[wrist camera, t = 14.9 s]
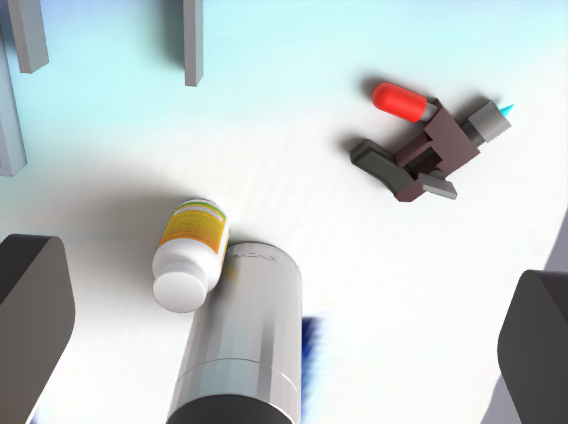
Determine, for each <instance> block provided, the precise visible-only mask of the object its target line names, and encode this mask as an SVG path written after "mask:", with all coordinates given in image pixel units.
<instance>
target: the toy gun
mask: <svg viewBox="0 0 568 424" xmlns="http://www.w3.org/2000/svg"><path fill="white" fill-rule="evenodd" d="M372 101H373V104H374V105H375V107H376V108H378V109H380V110H382V111H385V112H388V113H390V114H393V115H395V116H398V117H400V118H403V119H406V120H408V121H411V122H413V123H415V122H417V121H418V120H419V121H420V123H421V125H422V127H423V129H424V130H425V131H426V132H423V133H421V134H420V135H419V136H417V137H416V138H415V139H414V140H412V141H411V142H410V143H408V144H407V145H406V146H404V147H403V148H402V149H401V150H399V151H398V152H397V153H395V155H394V154H392V153H390V152H389V151H387V150H385V149H384V148H382V147H381V146H379V145H377V144H376V143H374V142H372V141H371V140H365V141H363V142H362V143H361V144H359V145H358V146H357V147H356V148H354V149H353V150H352V151H351V152H350V159H351V163H352V164H354V165H355V166H357V167H359V168H360V169H362V170H364V171H365V172H367V173H369V174H370V175H372V176H374V177H375V178H377V179H379V180H381V182H382V183H383V184H384V185H385V186H386V187H387V188H388V189H389V190H390V191H391V192H392V193H393V194H394V197H395V198H396V199H397V200H398V201H399V202H412V201H413V200H415V199H416V198H418V197H419V196H420V195H422V194H423V193H425V192H426V191H429V192H430V193H434V194H437V195H440V196H444V197H447V198H450V199H453V200H455V199H456V197H457V195H458V194H457V192H456V190H455V188H454V187H453V185H452V183H451V182H449V181H446V180H445V177H447V176H448V175H450V174H451V173H452V172H454V171H455V170H457V169H459V168H460V167H461V166H463V165H464V164H466V163H467V162H468V161H470V160H471V159H473V158H474V157H475V156H477V155H478V154H480V151H479V150H478V148H477V147H478V146H480V145H481V144H483V143H484V142H485V141H486V142H487V143H489V142H490V141H491V140H493V139H494V138H496V137H497V136H498V135H500V134H501V133H502V132H504V131H505V130H507V129H508V128H509V127H511V125H510V123H509V122H508V121H507V119H506V118H505V116H506V115H507V114H508V112H509V111H510V110H511V108H512V107H513V106H514V105H511V106H508V107H505V108H503V109H500V110H499V109H498V108H497V107H496V106H495V104H494V103H493V102H492V101H490V102H489V103H487V104H486V105H485V106H483V107H482V108H481V109H479V110H478V111H477V112H475V113H474V114H473V115H471V116H470V117H469V118H468V119H469V121H468V122H466V123H465V124H464V125H462V126H461V127H460V125H459V124H458V123H457V122H456V120H455V119H454V118H453V117H452V116H451V114H450V113H449V112H448V111H447V109H446V108H445V107H444V106H443V105H442V103H441V102H440V101H439V100H438V99H437V100H436V101H435V102H434V103H433V104H430V103H427V99H426V98H425V97H424V96H421V95H419V94H416V93H414V92H411V91H409V90H406V89H404V88H401V87H399V86H396V85H394V84H391V83H381V84H379V85H378V86H377V87H376V88H375V89H374V91H373V94H372ZM430 146H431V147H432V148H433V149H434V150H435V152H434V153H433V154H432V155H430V156H429V157H428V158H426V159H425V160H424V161H422V162H421V163H420V164H418V165H417V166H416V167H414V168H413V169H412V170H410V169H409V168H408V167H407V166H406V164H408V163H409V162H410V161H412V160H413V159H414V158H416V157H417V156H418V155H420V154H421V153H422V152H424V151H425V150H426V149H428V148H429V147H430Z"/></svg>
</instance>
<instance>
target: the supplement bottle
mask: <svg viewBox="0 0 568 424" xmlns="http://www.w3.org/2000/svg"><path fill="white" fill-rule="evenodd" d="M229 234H230V223H229V219H228V217H227V215H226V214H225V212H224V211H223V210H222V209H221V208H220V207H218V206H217V205H216V204H214V203H212V202H209V201H206V200H199V199H197V200H189V201H186V202H184V203H182V204H180V205H179V206H178V207H177V208H176V209H175V210H174V211H173V213H172V215H171V217H170V219H169V222H168V224H167V227H166V229H165V232H164V234H163V236H162V239H161V241H160V244H159V246H158V248H157V251H156V253H155V256H154V259H153V262H152V271H153V275H154V278H155V280H154V283H153V287H152V291H153V295H154V298H155V299H156V301H157V302H158V303H159V304H160V305H161V306H162V307H164V308H165V309H167V310H169V311H172V312H176V313H188V312H192V311H194V310H196V309H198V308H199V307H200V306H201V305H202V304H203V302H204V301H205V298H206V294H207V293H208V292H210V291H211V290H212V289H213V288H214V287H215V285H216V284H217V282H218V280H219V277H220V274H221V270H222V265H223V261H224V256H225V252H226V248H227V243H228V239H229Z"/></svg>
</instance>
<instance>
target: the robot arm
mask: <svg viewBox="0 0 568 424" xmlns="http://www.w3.org/2000/svg"><path fill="white" fill-rule="evenodd" d="M74 321H75V303H74V297H73V292H72V287H71V281H70V276H69V271H68V265H67V260H66V255H65V249H64V245H63V243H62V241H61V239H60V238H59V237H55V236H40V235H26V234H11V235H9V236H8V237H6V238H5V240H4V241H3V242H2V243H1V244H0V424H25V423H26V421H27V419H28V417H29V416H30V414H31V412H32V410H33V408H34V406H35V404H36V402H37V400H38V399H39V397H40V395H41V393H42V391H43V389H44V387H45V385H46V383H47V381H48V380H49V378H50V376H51V374H52V372H53V370H54V368H55V366H56V364H57V363H58V361H59V359H60V357H61V355H62V353H63V351H64V349H65V347H66V345H67V344H68V342H69V339H70V337H71V334H72V331H73V327H74ZM301 326H302V279H301V274H300V271H299V269H298V267H297V265H296V264H295V263H294V261H293V260H292V259H291V258H290V257H289V256H288V255H287V254H285V253H284V252H282V251H280V250H279V249H277V248H275V247H272V246H269V245H266V244H261V243H241V244H236V245H233V246H230V247H228V248H226V252H225V256H224V261H223V265H222V270H221V274H220V277H219V280H218V282H217V284H216V285H215V287H214V288H213V289H212V290H211V291H210V292H208V293H207V294H206V298H205V301H204V302H203V304H202V305H201V306H200V307H199V308H198V309H196V310H195V314H194V318H193V322H192V325H191V329H190V333H189V337H188V340H187V344H186V348H185V352H184V355H183V359H182V363H181V367H180V370H179V374H178V378H177V382H176V385H175V389H174V394H173V397H172V401H171V405H170V409H169V412H168V416H167V420H166V424H301ZM497 354H498V363H499V367H500V370H501V373H502V376H503V378H504V380H505V383H506V385H507V388H508V390H509V393H510V395H511V397H512V400H513V402H514V405H515V407H516V410H517V412H518V414H519V417H520V419H521V422H522V424H568V272H556V271H542V270H526V271H525V272H524V273H523V274H522V275H521V277H520V279H519V281H518V284H517V287H516V290H515V292H514V295H513V298H512V301H511V304H510V306H509V309H508V312H507V315H506V317H505V320H504V323H503V326H502V329H501V331H500V334H499V338H498V347H497Z"/></svg>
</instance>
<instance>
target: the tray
mask: <svg viewBox="0 0 568 424" xmlns="http://www.w3.org/2000/svg"><path fill="white" fill-rule="evenodd" d="M26 164H27V161H26V156H25V150H24V145H23V140H22V135H21V129H20V124H19V119H18V114H17V109H16V103H15V98H14V93H13V88H12V83H11V77H10V72H9V67H8V62H7V56H6V51H5V46H4V41H3V36H2V30H1V25H0V176H11V177H13V176H14V175H15V174H16V173H17V172H18V171H20V170H21V169H22V168H23V167H24V166H25V165H26Z"/></svg>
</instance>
